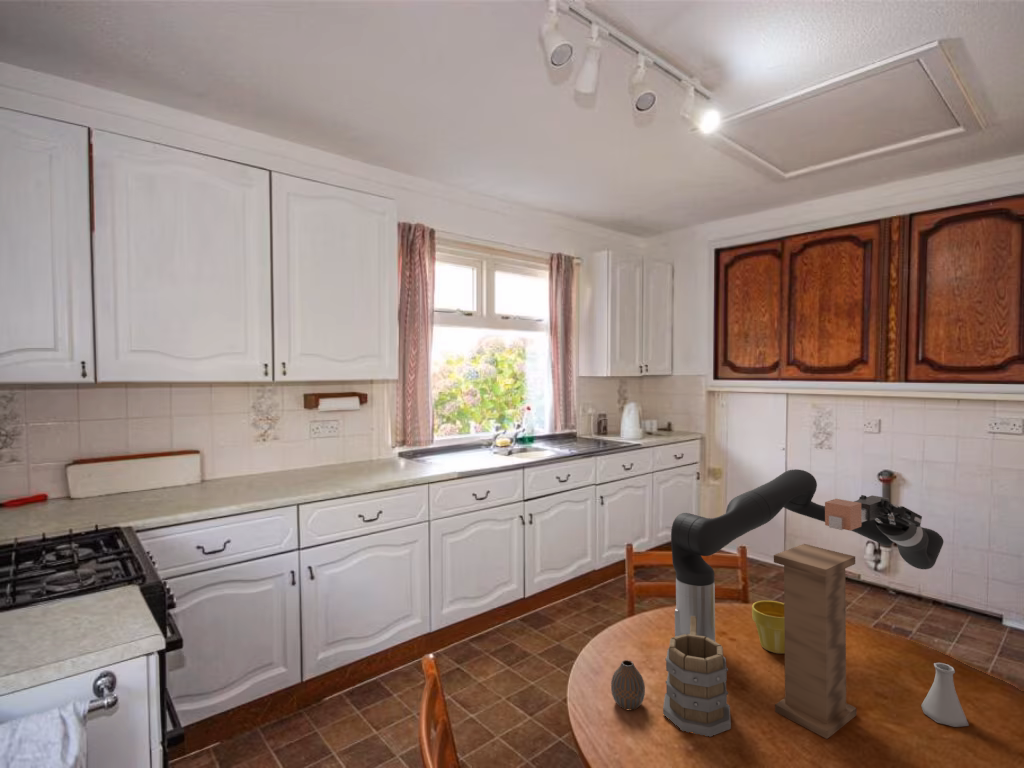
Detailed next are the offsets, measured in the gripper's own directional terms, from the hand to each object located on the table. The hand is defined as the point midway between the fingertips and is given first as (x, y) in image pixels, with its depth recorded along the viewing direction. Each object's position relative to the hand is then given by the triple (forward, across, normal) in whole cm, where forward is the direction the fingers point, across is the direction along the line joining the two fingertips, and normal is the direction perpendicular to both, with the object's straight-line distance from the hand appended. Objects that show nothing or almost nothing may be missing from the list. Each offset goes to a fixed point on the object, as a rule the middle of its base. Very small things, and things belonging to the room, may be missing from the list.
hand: (872, 500), depth 121 cm
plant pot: (-13, -19, +38) cm, 44 cm away
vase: (+28, -24, +61) cm, 72 cm away
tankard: (+18, -16, +56) cm, 60 cm away
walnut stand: (+3, 0, +47) cm, 47 cm away
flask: (-14, +15, +38) cm, 43 cm away
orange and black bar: (+4, 0, +6) cm, 7 cm away
